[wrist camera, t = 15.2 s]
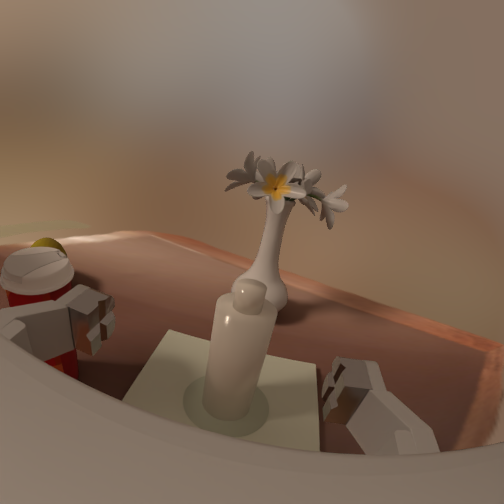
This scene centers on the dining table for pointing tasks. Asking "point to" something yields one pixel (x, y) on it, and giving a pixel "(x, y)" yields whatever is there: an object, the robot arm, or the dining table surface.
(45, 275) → the paper cup
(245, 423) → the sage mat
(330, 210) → the flower vase
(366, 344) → the dining table surface
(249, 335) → the cream bottle
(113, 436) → the robot arm
